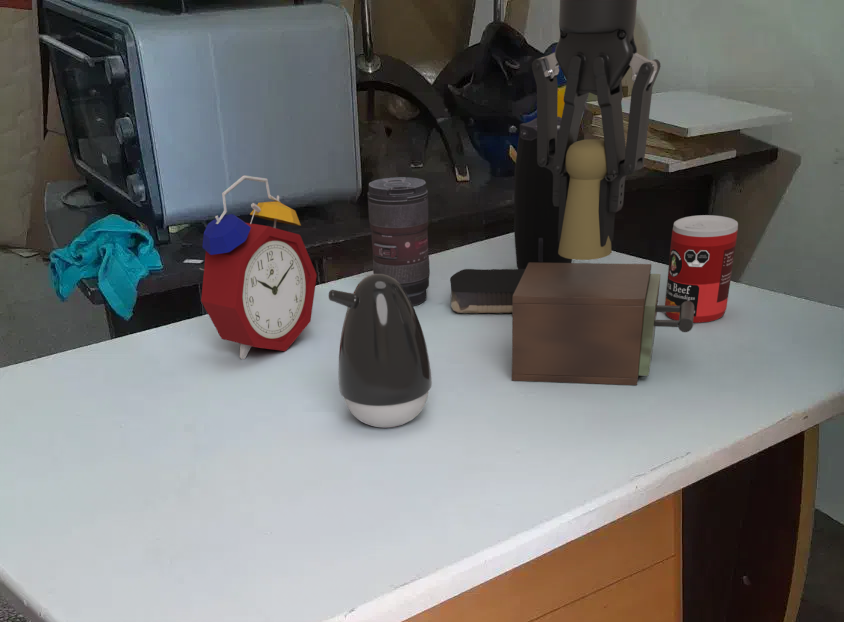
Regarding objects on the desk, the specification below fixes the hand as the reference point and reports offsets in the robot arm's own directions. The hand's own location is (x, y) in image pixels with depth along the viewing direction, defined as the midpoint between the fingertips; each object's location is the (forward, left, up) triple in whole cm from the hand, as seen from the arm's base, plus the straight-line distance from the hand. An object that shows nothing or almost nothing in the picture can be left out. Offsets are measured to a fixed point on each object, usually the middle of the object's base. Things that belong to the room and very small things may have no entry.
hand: (585, 240), depth 114 cm
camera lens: (+33, -11, -14) cm, 37 cm away
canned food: (-6, -22, -14) cm, 27 cm away
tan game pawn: (0, 0, -1) cm, 1 cm away
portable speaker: (+20, -29, -14) cm, 38 cm away
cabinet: (0, 0, -14) cm, 14 cm away
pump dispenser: (+12, +24, -14) cm, 30 cm away
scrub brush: (+18, -15, -14) cm, 27 cm away
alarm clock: (+40, +12, -14) cm, 44 cm away
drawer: (-4, -1, -13) cm, 13 cm away
